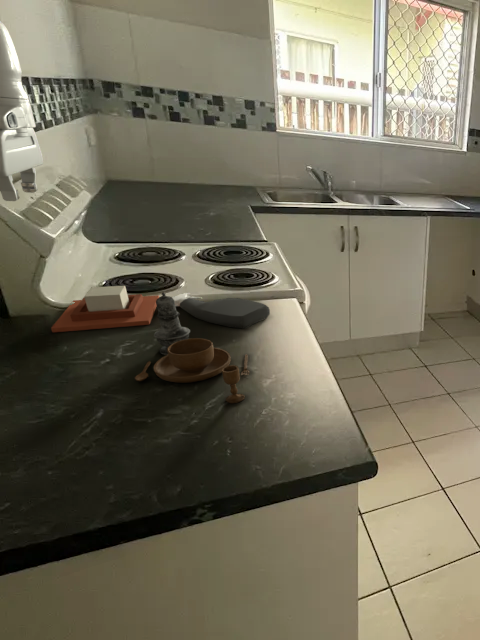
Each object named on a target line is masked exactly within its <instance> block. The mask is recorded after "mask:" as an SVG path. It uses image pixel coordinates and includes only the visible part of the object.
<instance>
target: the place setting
mask: <svg viewBox="0 0 480 640" xmlns="http://www.w3.org/2000/svg"><path fill="white" fill-rule="evenodd" d="M167 351H168V355H164V356H162V357H160V358H159V359H158V360H157V361H156V362H155V363H154V364H153V371H154V373H155V375H156V376H157V377H159V378H160V379H161V380H164V381H167V382H170V383H176V384H177V383H179V384H181V383H182V384H185V383H196V382H201V381H205V380H208V379H210V378H211V379H212V378H213V377H215V376H218V375H219V374H222V378H223V381H224V383H225V384H226V385H229V387H230V391H229V392H230V395H228V396H227V397H226V398H225V402H226V403H228V404H237V403H240V402H243V401H244V400H245V399H246V397H245V395H244V394H243V393H238V388H237V384H238V383H239V381H240V379H241V377H242V376H245V375H247V376H249V375H250V371H249V369H248V359H249V358H248V354H245V355H244V360H243V361H244V363H243V370H242V371H241V373H240V369H239V366H238V365H235V364H231V360H232V356H231V354H230V352H228V351H227V350H225V349H223V348H219V347H214V344H213V342H212V341H211V340H210V339H207V338H202V337H201V338H200V337H193V338H188V339H185V340H181V341H178V342H175V343H173V344H171V345H170V346H169V347H168V348H167ZM151 364H152V361H151V360H149V361H147V362H146V364H145V366H144V367H143V370H142V371H141V372H140V373H138V374H136V376H134V380H135V381H136V382H143V381H145V380H147V378H148V377H149V373H147V370H148V368H150V365H151Z"/></svg>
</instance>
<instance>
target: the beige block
mask: <svg viewBox="0 0 480 640" xmlns="http://www.w3.org/2000/svg"><path fill="white" fill-rule="evenodd" d="M126 287H127V286H126V285H112V286H93V287H92V286H91V287H90V289H89V290H88V291H87V292H86V293H85V295H84V297H83V298H85V301H86V304H87V308H88V311H89V312H92V311H107V310H121V309H127V308H128V306H129V305H130V303H129V299H128V295H129V294H128V292H127V291H128V290H127V288H126Z"/></svg>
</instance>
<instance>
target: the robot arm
mask: <svg viewBox="0 0 480 640" xmlns="http://www.w3.org/2000/svg"><path fill="white" fill-rule="evenodd" d="M22 76H23V72H22V66H21V63H20V59H19V56H18V54H17V49H16V47H15V44H14V41H13V38H12V36H11V33H10V32H9V30H8V28H7V26H6V25H5V23H4V22H3V21H1V20H0V193H1V196H2V200H4V201H5V202H16V201H18V200H20V199H21V198H20V195H19V191H18V189H16V188H15V185H14V179H13V175H15V174H18V173H19V174H20V178H21V182H20V186H21V189H22V191H23V192H24V193H33V194H34V193H35V192H38V185H37V169H36V167H39V166H42V165H43V164H44V155H43V152H42V149H41V145H40V143H39V140H38V137H37V134H36V131H35V129H34V128H37V125H36V120H35V117H34V114H33V109H32V105H31V102H30V98H29V95H28V94H27V92H26V90H25V88H24V86H23V82H22Z"/></svg>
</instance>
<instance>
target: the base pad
mask: <svg viewBox="0 0 480 640" xmlns="http://www.w3.org/2000/svg"><path fill="white" fill-rule="evenodd" d="M127 295H128V299H129V303H130V305H129V306H128V308H127V309H121V310H107V311H92V312H89V311H88V308H87V304H86V301H85V298H84V297H83V298H82V299H74V300H72V302H75V303H74V304H72V305H70V304H69V305H68V307H66V309H65V310H64V311H63V313H62V314H61V315H60V316H59V318H58V319H57V320H56V321H55V323H53V324H52V326H51V327H50V329H51V332H52V333H64V332H74V331H76V332H77V331H88V330H100V329H111V328H112V329H113V328H123V327H126V328H127V327H135V326H149V325H150V324H151V322H152V319H153V317H154V314H155V311H156V309H157V305H156V300H157V298H159V297H160V295H143V294H142V293H137V294H136V293H135V294H127Z"/></svg>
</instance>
